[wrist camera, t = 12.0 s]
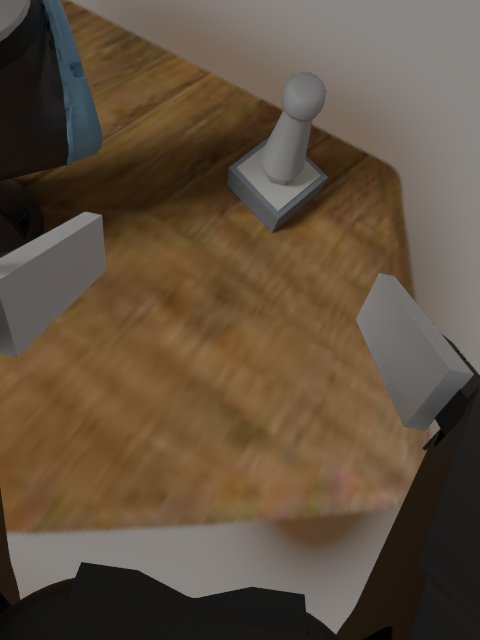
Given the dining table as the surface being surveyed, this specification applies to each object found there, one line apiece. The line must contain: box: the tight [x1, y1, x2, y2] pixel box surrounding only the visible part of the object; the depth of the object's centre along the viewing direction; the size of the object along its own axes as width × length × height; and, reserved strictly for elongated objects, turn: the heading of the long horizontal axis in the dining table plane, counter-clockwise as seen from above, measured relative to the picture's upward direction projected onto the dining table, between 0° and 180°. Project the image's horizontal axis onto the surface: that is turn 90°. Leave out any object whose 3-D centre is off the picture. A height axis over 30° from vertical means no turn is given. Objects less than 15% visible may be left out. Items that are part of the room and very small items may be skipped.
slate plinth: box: [227, 136, 328, 233], centre depth 44 cm, size 10×10×4 cm
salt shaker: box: [261, 72, 326, 185], centre depth 36 cm, size 6×6×13 cm
